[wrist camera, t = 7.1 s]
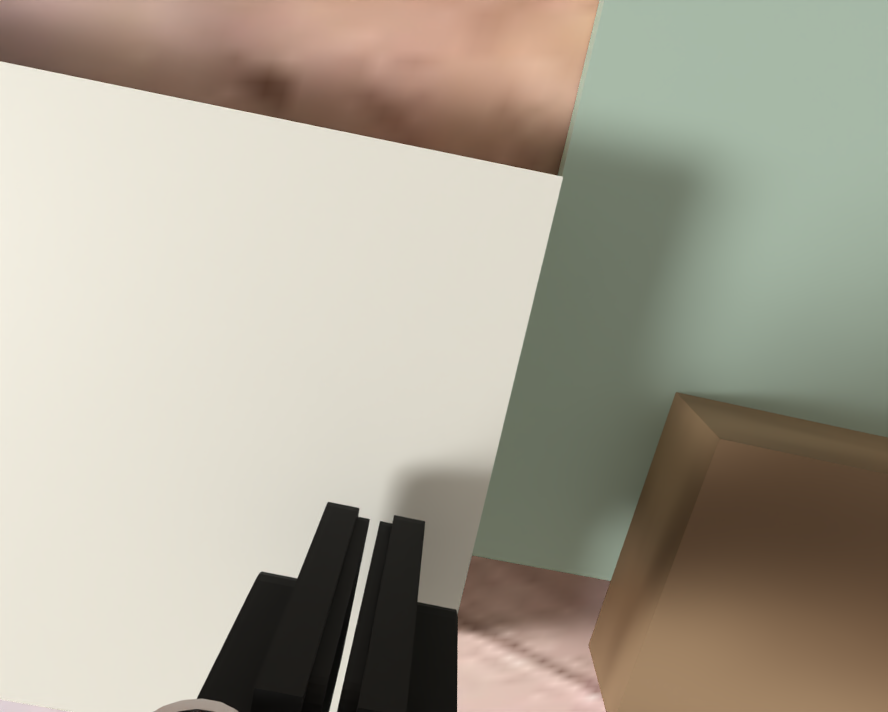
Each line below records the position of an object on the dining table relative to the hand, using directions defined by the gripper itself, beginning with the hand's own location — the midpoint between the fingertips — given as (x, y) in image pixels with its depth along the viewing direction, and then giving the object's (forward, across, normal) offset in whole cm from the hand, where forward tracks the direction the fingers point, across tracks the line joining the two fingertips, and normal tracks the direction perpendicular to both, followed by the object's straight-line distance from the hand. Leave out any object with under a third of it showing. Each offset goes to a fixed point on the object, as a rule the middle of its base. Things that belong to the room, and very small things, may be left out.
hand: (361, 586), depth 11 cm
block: (+2, -9, 0) cm, 10 cm away
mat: (+5, -7, -6) cm, 11 cm away
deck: (+5, +6, -1) cm, 8 cm away
